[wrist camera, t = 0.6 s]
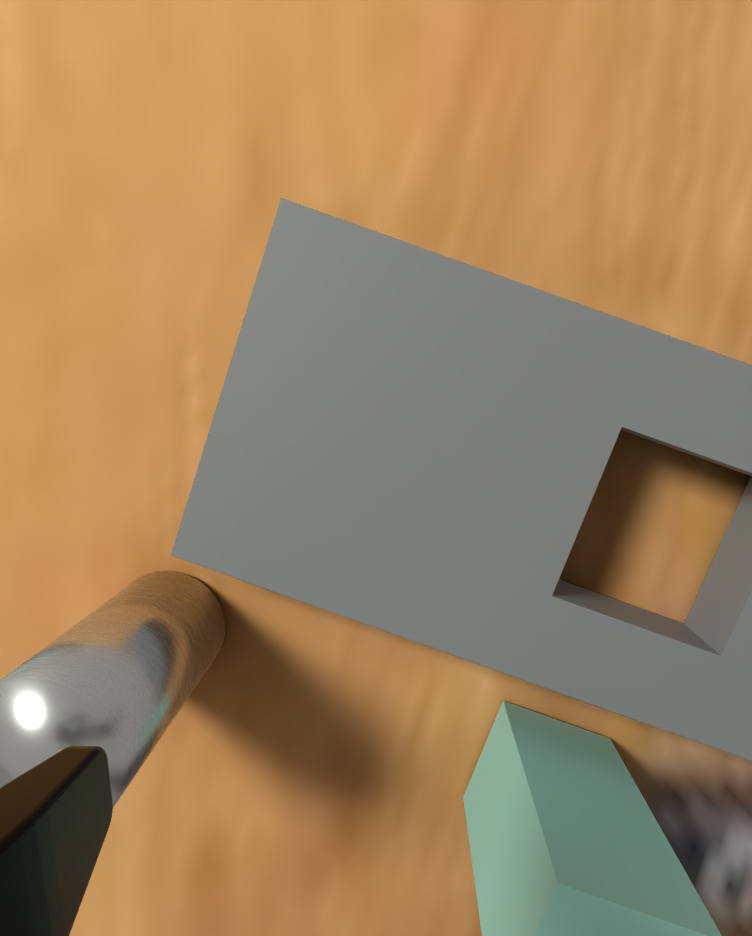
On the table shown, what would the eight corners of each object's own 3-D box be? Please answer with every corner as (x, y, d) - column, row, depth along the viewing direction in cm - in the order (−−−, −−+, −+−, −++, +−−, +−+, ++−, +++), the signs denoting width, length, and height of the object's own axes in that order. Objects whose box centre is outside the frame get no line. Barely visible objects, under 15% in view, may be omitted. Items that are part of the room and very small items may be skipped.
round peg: (206, 693, 22) (97, 864, 14) (102, 656, 22) (-66, 807, 14) (239, 593, 22) (144, 715, 14) (132, 554, 22) (-25, 654, 14)
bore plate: (741, 727, 22) (784, 772, 19) (198, 534, 22) (170, 555, 19) (884, 429, 20) (952, 436, 17) (297, 220, 20) (281, 198, 17)
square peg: (567, 834, 22) (654, 1081, 15) (463, 797, 22) (493, 1024, 15) (609, 738, 22) (725, 942, 14) (503, 700, 22) (558, 882, 14)
